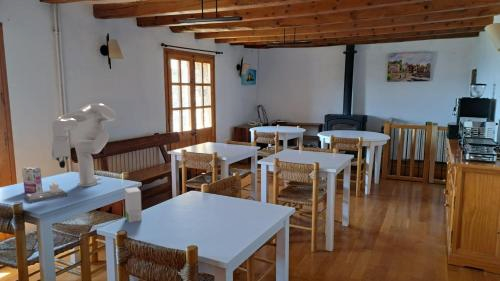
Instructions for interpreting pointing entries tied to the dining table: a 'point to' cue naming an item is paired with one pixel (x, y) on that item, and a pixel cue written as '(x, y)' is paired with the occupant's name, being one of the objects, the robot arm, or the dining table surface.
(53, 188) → the fader knob
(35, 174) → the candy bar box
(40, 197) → the console
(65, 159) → the robot arm
